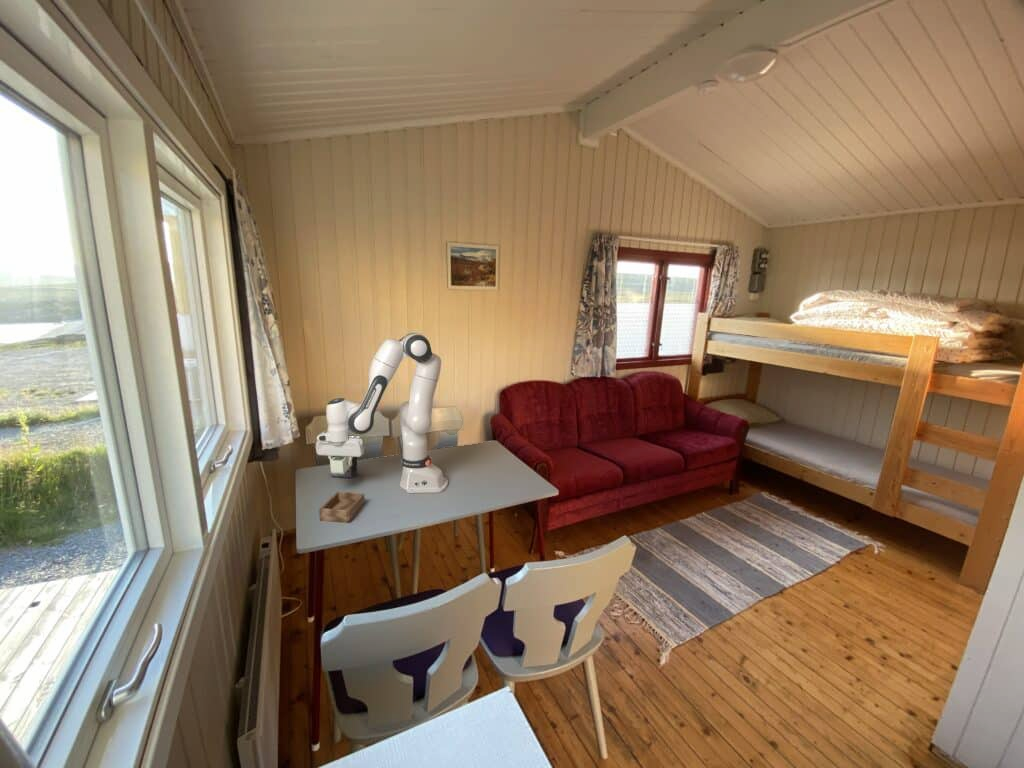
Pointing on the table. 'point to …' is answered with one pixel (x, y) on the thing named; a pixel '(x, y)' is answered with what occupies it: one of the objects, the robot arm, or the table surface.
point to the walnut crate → (342, 507)
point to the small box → (350, 472)
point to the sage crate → (339, 464)
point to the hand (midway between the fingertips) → (341, 464)
